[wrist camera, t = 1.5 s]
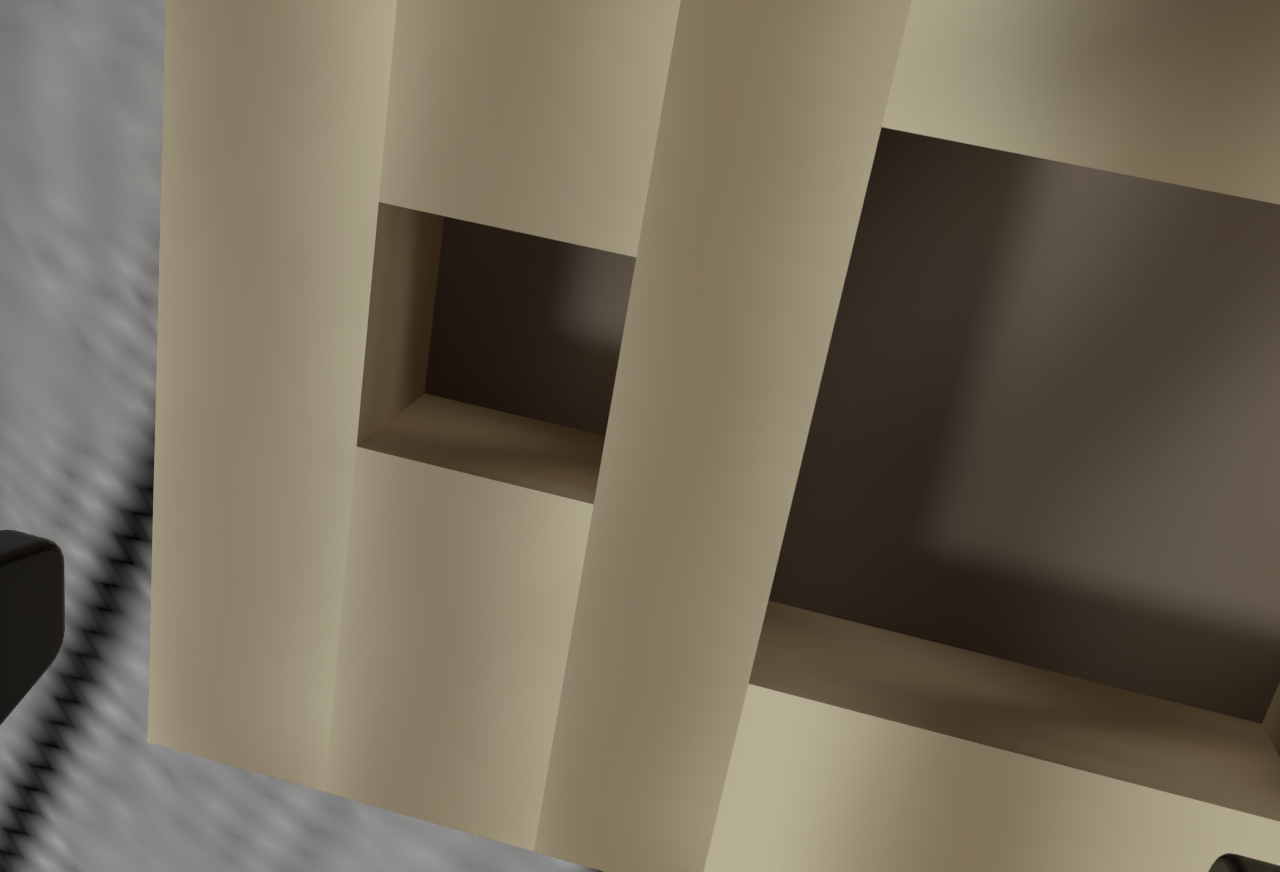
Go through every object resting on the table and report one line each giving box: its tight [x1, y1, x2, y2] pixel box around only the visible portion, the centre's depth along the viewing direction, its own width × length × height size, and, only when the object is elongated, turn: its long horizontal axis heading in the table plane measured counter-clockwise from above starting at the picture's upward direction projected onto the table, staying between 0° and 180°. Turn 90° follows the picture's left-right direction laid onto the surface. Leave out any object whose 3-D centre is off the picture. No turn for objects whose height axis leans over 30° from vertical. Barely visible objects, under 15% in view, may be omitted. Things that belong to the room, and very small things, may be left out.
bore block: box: [148, 0, 1280, 872], centre depth 17 cm, size 20×16×3 cm
